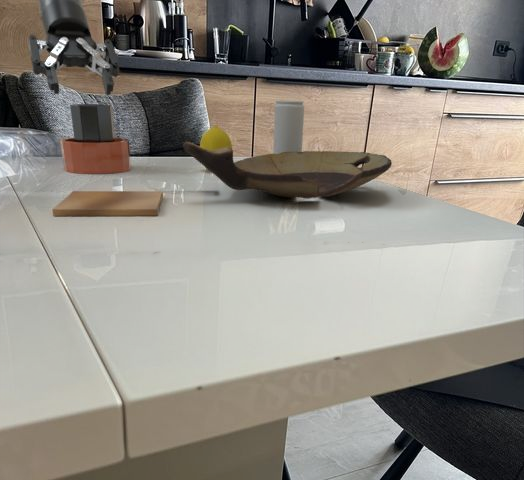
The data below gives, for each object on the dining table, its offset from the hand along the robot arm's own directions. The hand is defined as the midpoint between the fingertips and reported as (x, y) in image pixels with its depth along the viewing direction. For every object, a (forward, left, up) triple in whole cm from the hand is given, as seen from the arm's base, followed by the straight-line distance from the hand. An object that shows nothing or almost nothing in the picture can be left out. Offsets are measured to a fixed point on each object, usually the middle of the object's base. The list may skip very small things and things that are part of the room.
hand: (83, 90), depth 92 cm
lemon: (+22, -6, -13) cm, 26 cm away
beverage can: (+34, -8, -13) cm, 37 cm away
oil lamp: (+32, -24, -13) cm, 42 cm away
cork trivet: (+8, -32, -13) cm, 36 cm away
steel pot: (+2, -5, -12) cm, 13 cm away
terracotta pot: (+2, -5, -13) cm, 14 cm away
